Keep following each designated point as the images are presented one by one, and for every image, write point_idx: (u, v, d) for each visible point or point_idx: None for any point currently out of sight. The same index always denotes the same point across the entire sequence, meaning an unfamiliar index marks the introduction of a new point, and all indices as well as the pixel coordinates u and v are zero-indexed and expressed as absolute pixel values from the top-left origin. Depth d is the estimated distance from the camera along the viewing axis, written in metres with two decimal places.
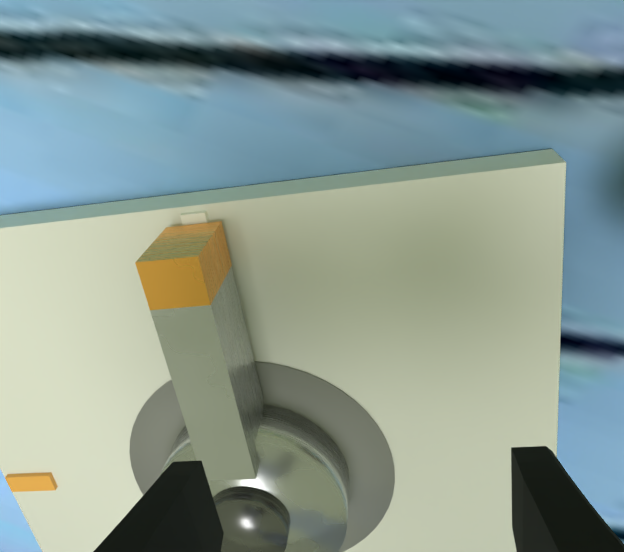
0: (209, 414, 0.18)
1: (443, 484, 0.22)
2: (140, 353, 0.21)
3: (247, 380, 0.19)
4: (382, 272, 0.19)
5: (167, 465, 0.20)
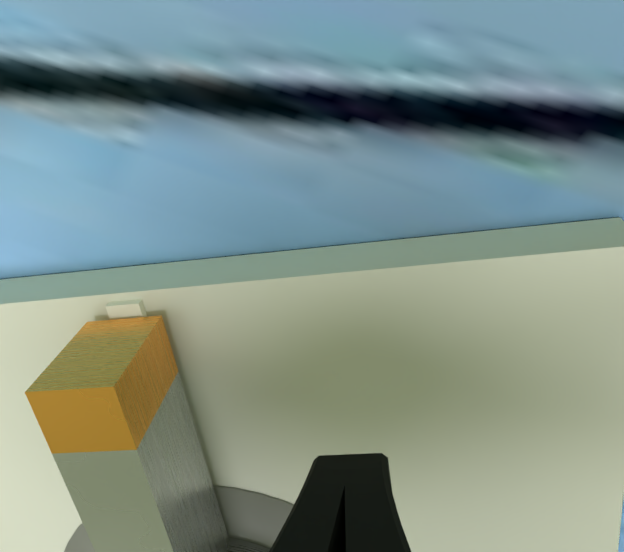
0: None
1: None
2: None
3: (200, 523, 0.14)
4: (384, 382, 0.14)
5: None
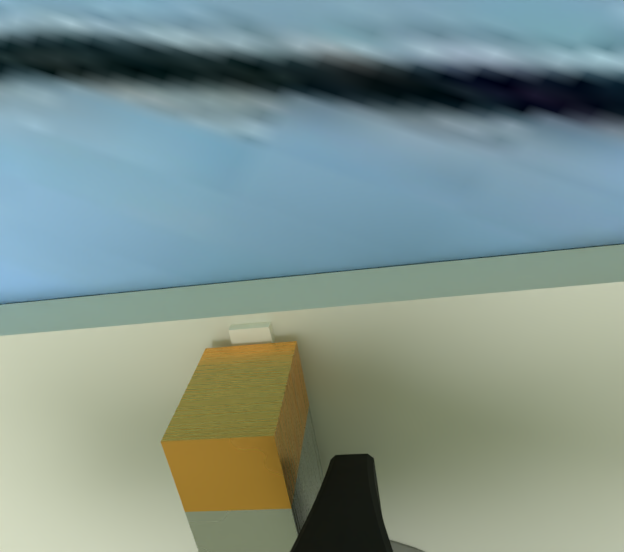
0: None
1: None
2: (160, 514, 0.14)
3: None
4: (551, 416, 0.12)
5: None
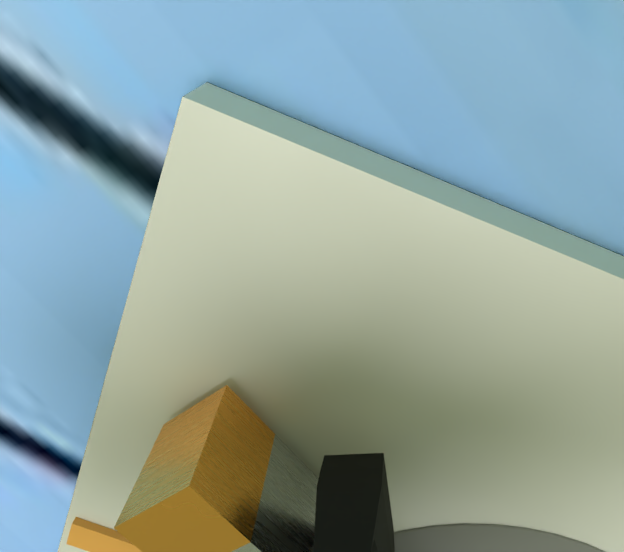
0: None
1: None
2: (462, 474, 0.12)
3: None
4: None
5: None
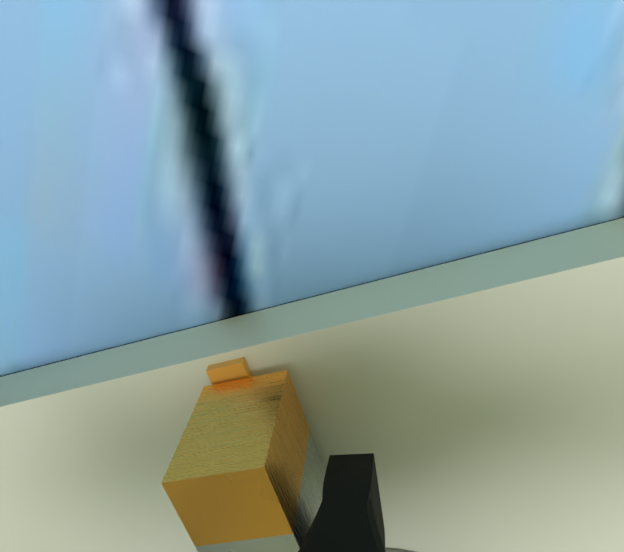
0: None
1: None
2: None
3: None
4: None
5: None
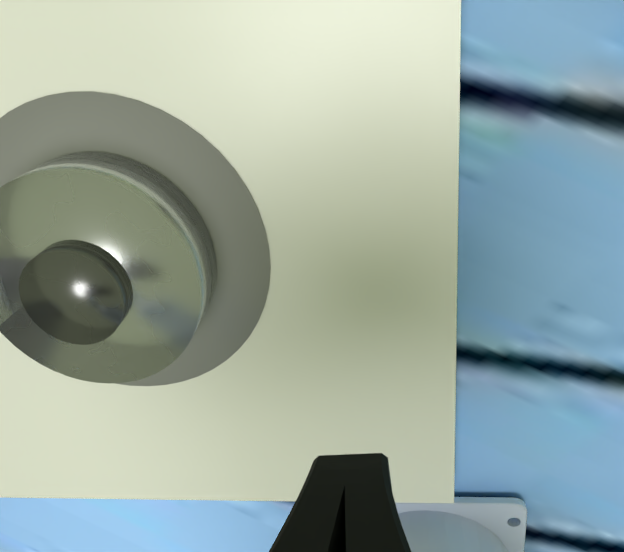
0: None
1: (327, 273, 0.19)
2: None
3: None
4: None
5: (26, 353, 0.19)
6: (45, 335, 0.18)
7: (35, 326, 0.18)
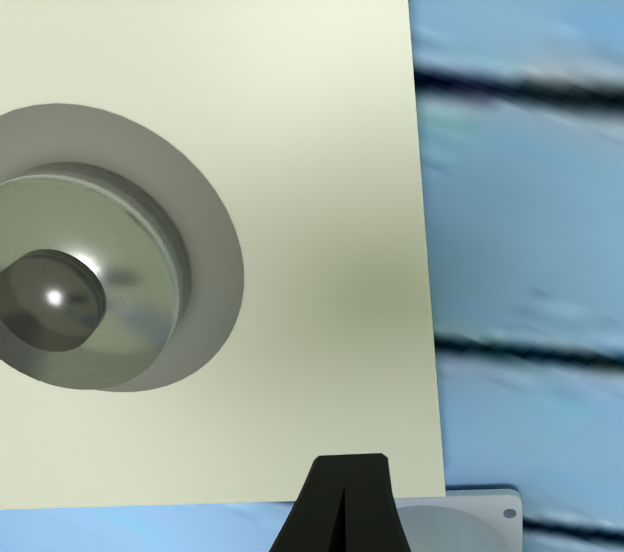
0: None
1: (300, 270, 0.19)
2: None
3: None
4: None
5: (9, 364, 0.19)
6: (25, 344, 0.19)
7: (15, 336, 0.18)
